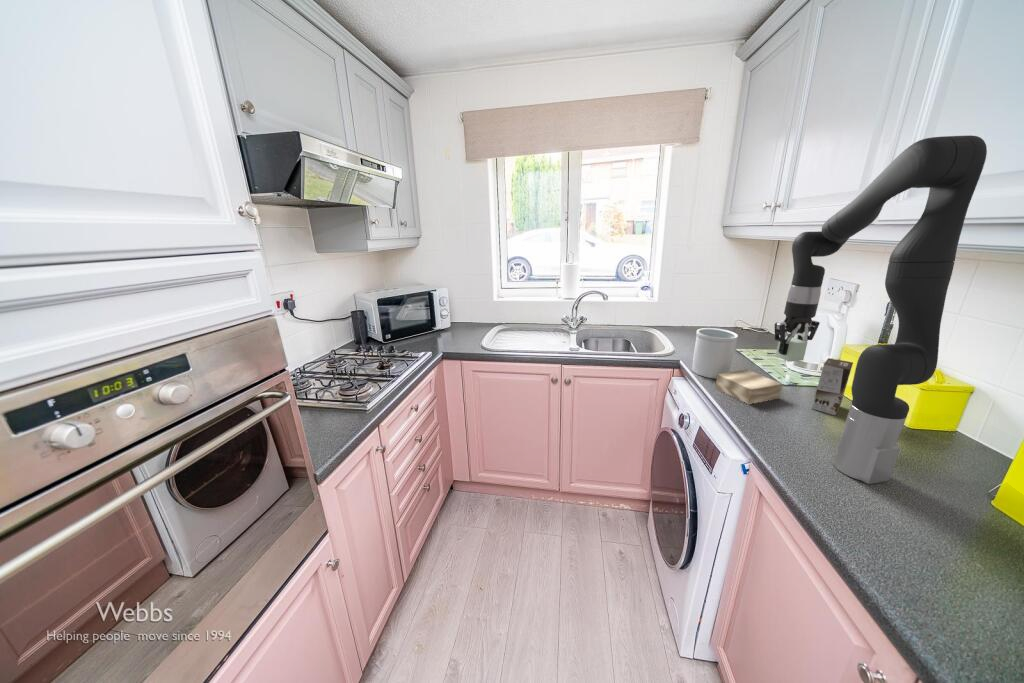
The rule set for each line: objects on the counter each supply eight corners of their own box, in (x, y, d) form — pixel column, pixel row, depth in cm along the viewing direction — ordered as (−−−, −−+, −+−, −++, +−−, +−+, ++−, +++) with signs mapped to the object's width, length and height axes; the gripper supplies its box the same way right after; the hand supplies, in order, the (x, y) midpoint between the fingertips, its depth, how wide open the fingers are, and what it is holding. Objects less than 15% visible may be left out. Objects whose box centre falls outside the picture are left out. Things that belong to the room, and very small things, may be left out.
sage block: (803, 360, 109) (807, 342, 107) (789, 361, 108) (793, 343, 107) (788, 355, 114) (792, 337, 112) (775, 356, 113) (779, 338, 111)
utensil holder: (723, 366, 153) (730, 328, 148) (736, 380, 139) (744, 338, 134) (687, 364, 156) (692, 327, 151) (696, 378, 143) (702, 337, 137)
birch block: (778, 399, 125) (782, 383, 123) (747, 405, 121) (751, 389, 119) (743, 383, 137) (746, 369, 136) (715, 388, 134) (717, 374, 132)
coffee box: (836, 416, 112) (850, 369, 107) (810, 408, 117) (822, 364, 112) (840, 406, 118) (854, 362, 113) (816, 400, 123) (828, 357, 118)
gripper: (793, 304, 101) (781, 359, 106) (835, 301, 103) (821, 355, 108) (771, 299, 108) (760, 351, 113) (810, 297, 110) (798, 348, 115)
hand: (790, 353), depth 111 cm, fingers closed on sage block, 5 cm apart
